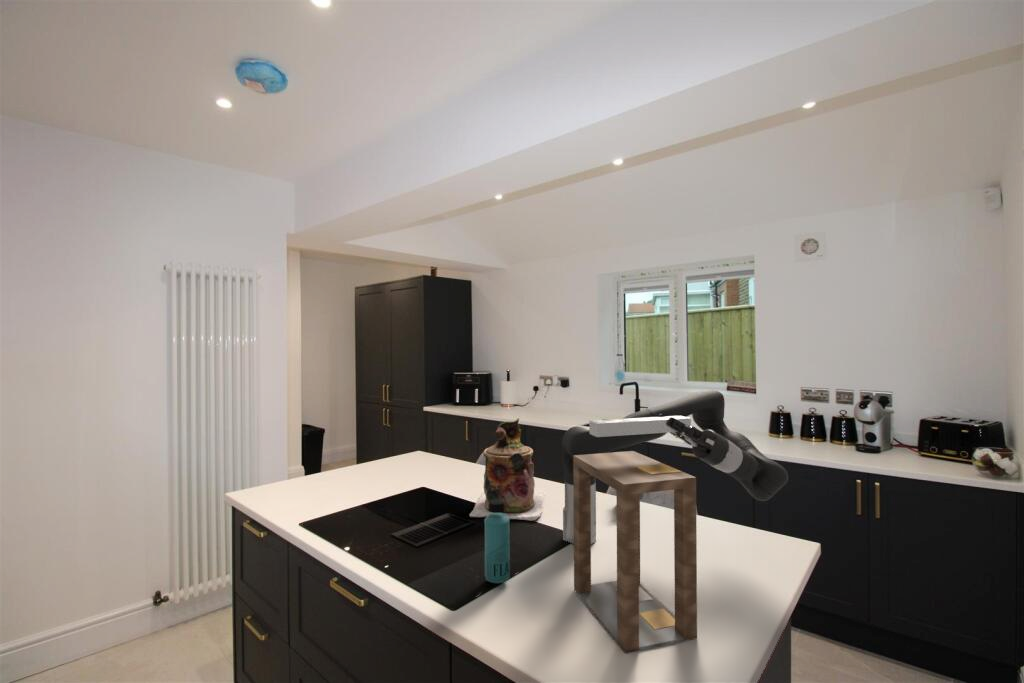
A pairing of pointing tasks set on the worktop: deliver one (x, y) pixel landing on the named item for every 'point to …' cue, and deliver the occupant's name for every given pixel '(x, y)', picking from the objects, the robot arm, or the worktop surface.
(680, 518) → the switch shelf
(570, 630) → the worktop surface
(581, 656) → the worktop surface
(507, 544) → the beverage bottle
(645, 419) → the gray rectangular block
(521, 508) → the cookie jar
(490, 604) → the worktop surface
